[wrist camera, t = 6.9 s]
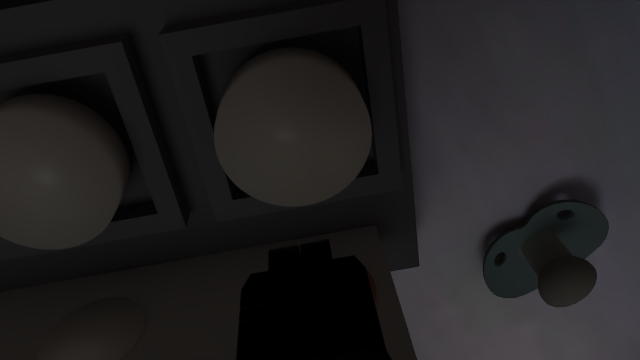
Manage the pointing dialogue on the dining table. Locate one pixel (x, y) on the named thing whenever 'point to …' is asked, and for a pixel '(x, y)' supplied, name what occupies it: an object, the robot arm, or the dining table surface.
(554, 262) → the pacifier
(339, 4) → the button board
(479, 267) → the dining table surface
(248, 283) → the robot arm
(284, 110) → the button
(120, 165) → the button middle
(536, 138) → the dining table surface
